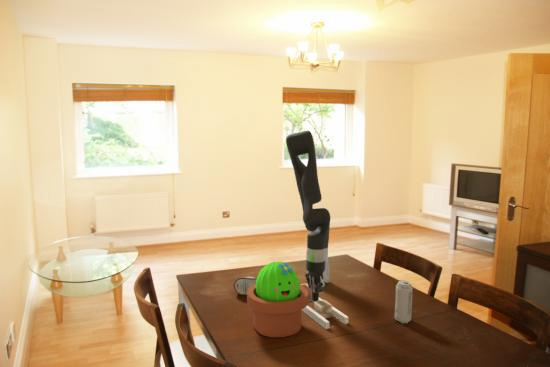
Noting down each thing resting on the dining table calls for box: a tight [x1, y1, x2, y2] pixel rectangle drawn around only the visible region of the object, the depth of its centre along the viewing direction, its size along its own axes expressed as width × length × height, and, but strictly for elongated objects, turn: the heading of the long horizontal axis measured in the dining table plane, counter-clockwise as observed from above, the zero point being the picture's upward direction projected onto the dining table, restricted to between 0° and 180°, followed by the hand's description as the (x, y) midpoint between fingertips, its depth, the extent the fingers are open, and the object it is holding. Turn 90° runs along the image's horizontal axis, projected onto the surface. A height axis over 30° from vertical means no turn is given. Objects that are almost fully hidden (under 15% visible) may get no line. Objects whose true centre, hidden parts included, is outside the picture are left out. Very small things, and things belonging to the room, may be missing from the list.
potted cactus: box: [246, 260, 309, 338], centre depth 157 cm, size 22×22×25 cm
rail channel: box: [300, 282, 350, 330], centre depth 172 cm, size 10×31×5 cm, turn 26°
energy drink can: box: [394, 279, 414, 324], centre depth 162 cm, size 6×6×15 cm
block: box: [313, 299, 333, 319], centre depth 167 cm, size 5×5×5 cm
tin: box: [233, 274, 258, 296], centre depth 187 cm, size 15×3×8 cm, turn 84°
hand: (315, 300), depth 172 cm, fingers closed
